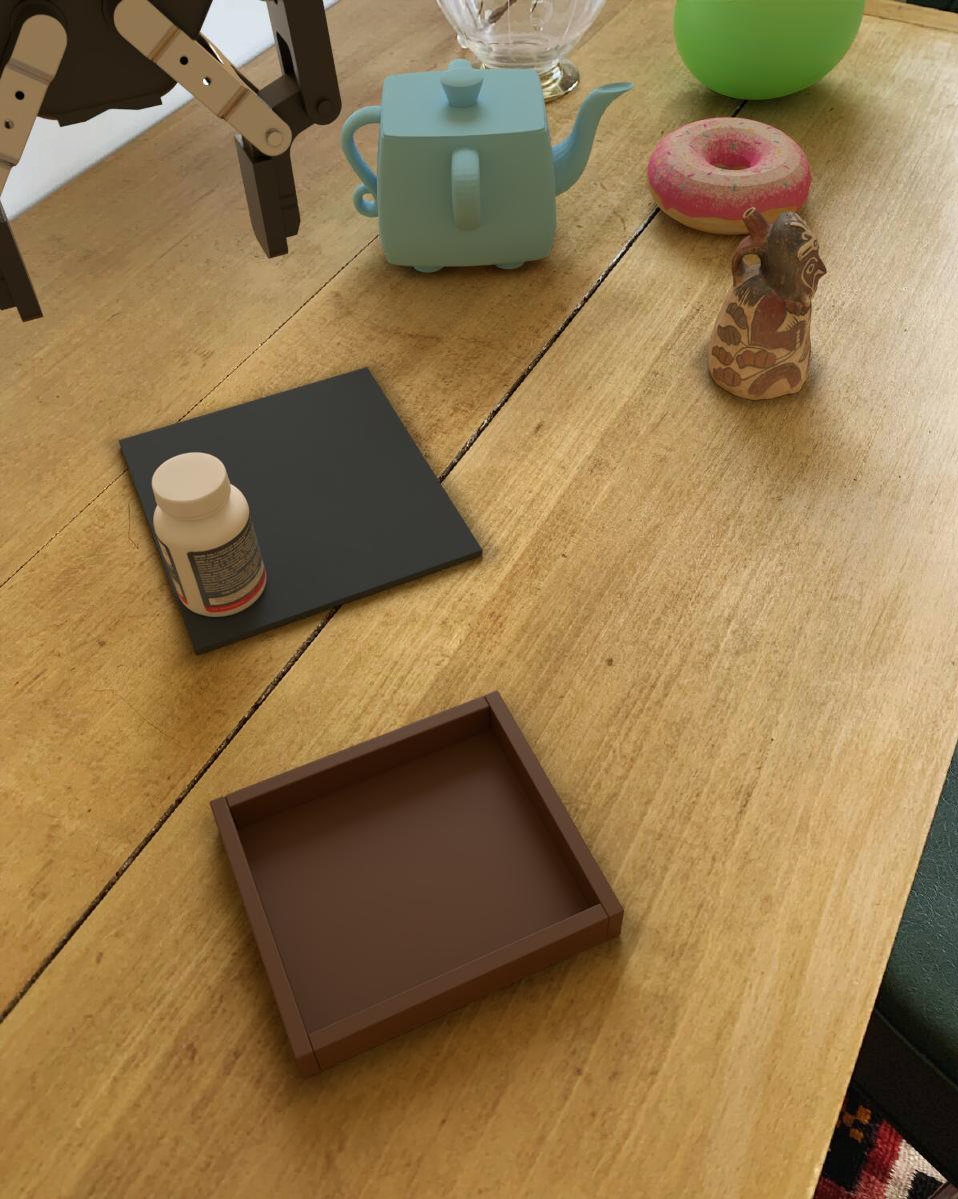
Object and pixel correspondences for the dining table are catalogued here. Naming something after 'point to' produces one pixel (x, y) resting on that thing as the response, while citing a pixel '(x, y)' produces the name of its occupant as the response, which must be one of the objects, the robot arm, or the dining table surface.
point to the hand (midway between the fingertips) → (154, 276)
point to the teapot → (469, 165)
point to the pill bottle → (207, 536)
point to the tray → (410, 879)
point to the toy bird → (764, 43)
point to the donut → (727, 174)
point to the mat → (315, 499)
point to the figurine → (767, 310)
